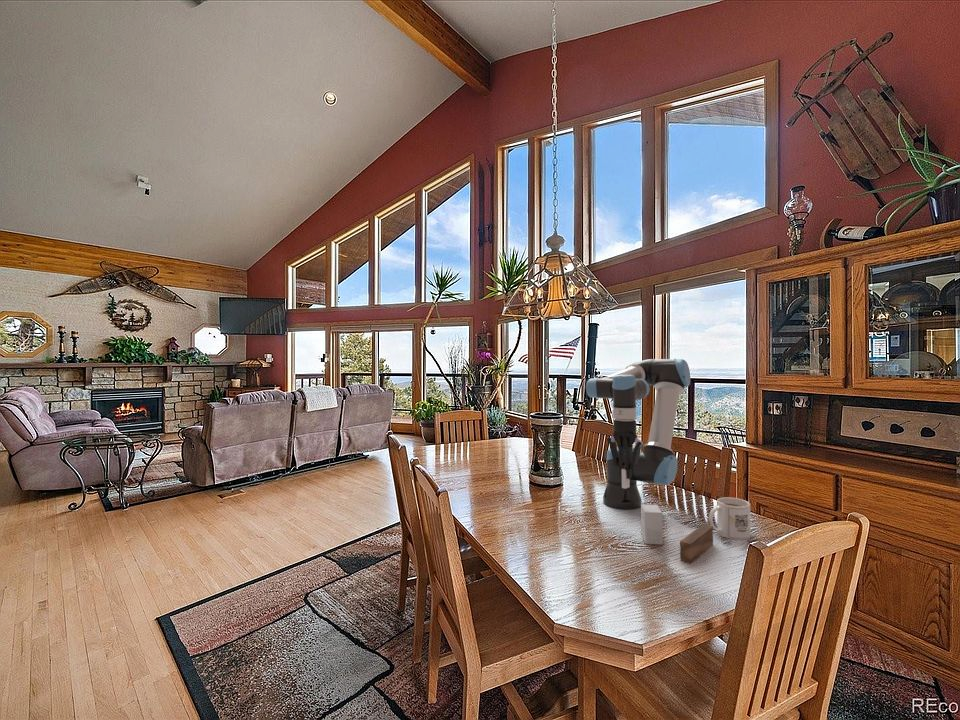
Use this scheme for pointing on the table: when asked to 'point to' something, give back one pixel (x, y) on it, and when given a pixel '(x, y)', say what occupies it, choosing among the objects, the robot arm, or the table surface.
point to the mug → (732, 518)
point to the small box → (651, 524)
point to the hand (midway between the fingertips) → (625, 487)
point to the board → (696, 543)
